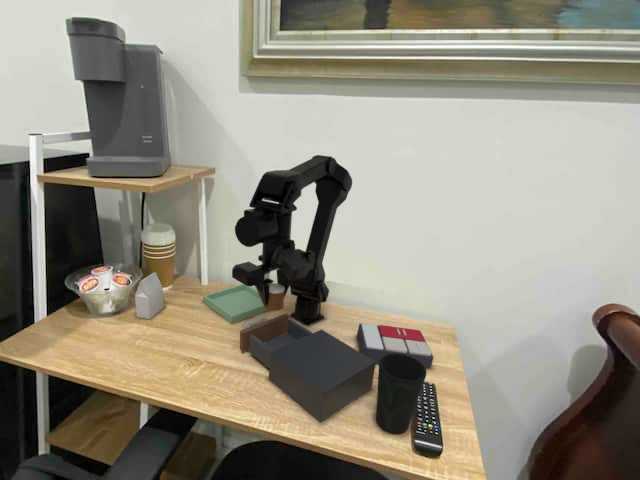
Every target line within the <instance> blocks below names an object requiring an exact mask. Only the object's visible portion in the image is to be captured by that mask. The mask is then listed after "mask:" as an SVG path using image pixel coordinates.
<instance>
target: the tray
mask: <svg viewBox="0 0 640 480" xmlns="http://www.w3.org/2000/svg"><path fill="white" fill-rule="evenodd" d="M202 302H203V303H204V304H205V305H206V306H207V307H209V308H210V309H212V310H213V311H214V312H216V313H217V314H218V315H220V316H221V317H222V318H223V319H225V320H226V321H228V322H229V323H230V324H235V323H237V322H240V321H243V320H245V319H248V318H252V317H254V316H256V315H259V314H262V313H265V312H268V311H269V310H267V309H266V308H264V304H263V302H262V300H261V298H260V295H259V293H258V291H257V289H254V288H253V287H252V286H246V285H244V284H243V283H241V284H239V285H236V286H232V287H229V288H225V289H221V290H217V291H215V292H211V293H207V294H204V295H203V296H202Z"/></svg>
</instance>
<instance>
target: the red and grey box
mask: <svg viewBox="0 0 640 480" xmlns="http://www.w3.org/2000/svg"><path fill="white" fill-rule="evenodd" d="M356 339H357V343H358V350H359V352H360V353H362V354H364V355H365V356H367V357H369V358H370V359H372V360H374V361H375V362H376V364H375V365H379V361H380V359H381V358H382V357H383V356H385V355H387V354H393V353H396V354H404V355H407V356H410V357H412V358H415V359H416V360H418V361H419V362H420V363H421V364H423V366H424V367H425V369H429V370H430V369H432V365H433V361H434V356H433V353H432V351H431V349H430V347H429V345H428V342H427V341H426V339H425V337H424V335H423V333H422V331H421V330H420V329H415V328H407V327H399V326H391V325H386V324H385V325H383V324H378V325H377V324H371V323H359V324H358V329H357V334H356Z"/></svg>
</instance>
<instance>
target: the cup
mask: <svg viewBox="0 0 640 480" xmlns="http://www.w3.org/2000/svg"><path fill="white" fill-rule="evenodd" d="M427 372H428V371H427V368H425V367H424V366H423V364H421V363H420V362H419V361H418V360H416V359H415V358H412V357H410V356H407V355H404V354H396V353H393V354H387V355H385V356H383V357H382V358H381V359H380V361H379V364H378V376H377V393H376V409H375V410H376V411H375V422H376V425H377V426H378V427H379V428H380V429H381V430H382V431H383V432H385V433H388V434H390V435H402V434H404V433H406V432H407V431H408V429H409V426H410V424H411V423H410V422H411V420H412V417H413V414H414V411H415V409H416V406H417V403H418V400H419V397H420V394H421V391H422V389H423V385H424V383H425V381H426V378H427Z"/></svg>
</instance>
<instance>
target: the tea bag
mask: <svg viewBox="0 0 640 480" xmlns="http://www.w3.org/2000/svg"><path fill="white" fill-rule="evenodd" d="M134 300H135V301H134V303H135V312H136V313H135V314H136V317H137V318H140V319H141V318H142V319H147V320H150V319H152V318H153V317H155V315H157V314H158V313H159V312H160V311H161V310H163V309H164V308H165V304H164V303H165V302H164V301H165V300H164V287H163V285H162V283H161V281H160V279H159V277H158V274H157V271H154V272H152V273H151V274H149V275H148V276H146V277H145V278H143V279H141V280H140V281H139V283H138V287H137V289H136V292H135V295H134Z"/></svg>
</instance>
